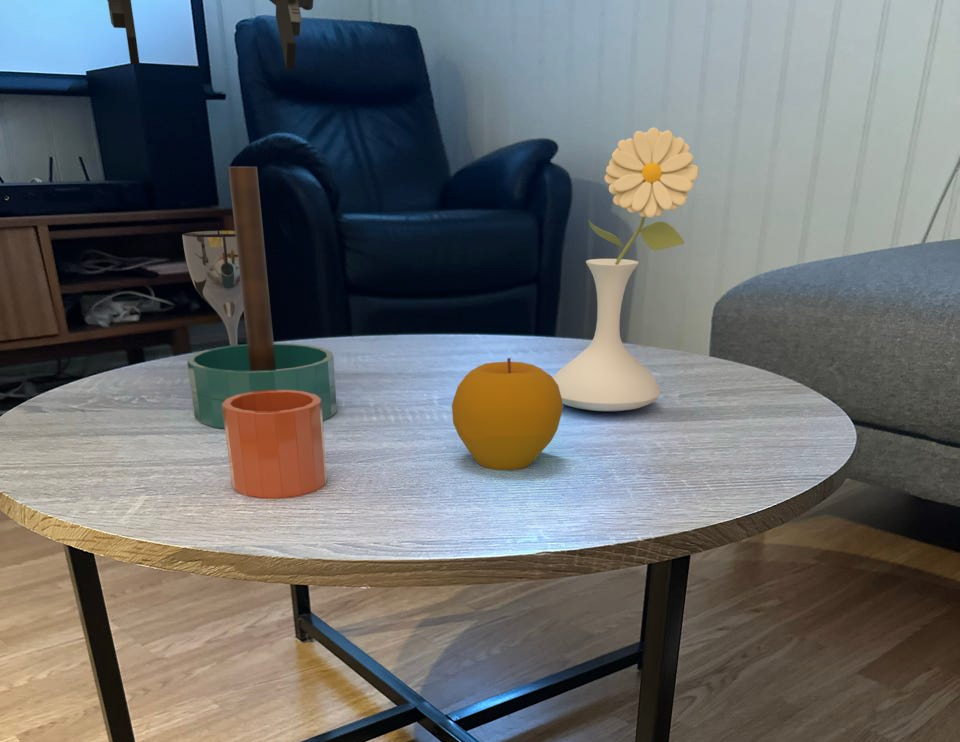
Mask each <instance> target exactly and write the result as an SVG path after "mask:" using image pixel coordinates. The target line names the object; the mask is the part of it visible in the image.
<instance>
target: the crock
mask: <svg viewBox="0 0 960 742" xmlns="http://www.w3.org/2000/svg"><path fill="white" fill-rule="evenodd" d="M222 409H223V417H224V425H225V429H224V433H225V439H226V447H227V449H226V450H227V457H228V464H229V473H230V481H231V487H232V488H233V490H234V491H235V492H236V493H238V494H240V495H242V496H246V497H250V498H255V499H268V500H269V499H270V500H271V499H272V500H274V499H276V500H277V499H289V498H296V497H301V496H302V497H303V496H306V495H308V494H312V493H315V492H317V491H319V490H321V489H322V488H324V487H325V486H326V484H327V480H328V474H327V473H328V472H327V458H326V447H325V445H326V444H325V432H324V421H323V417H322V404H321V398H320V397H318V396H317V395H315V394H312V393H308V392H304V391H294V390H265V391H254V392H248V393H243V394H238V395H235V396H232V397H230V398H227V399H225V401H224V402H223V403H222Z"/></svg>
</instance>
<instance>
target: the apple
mask: <svg viewBox="0 0 960 742" xmlns="http://www.w3.org/2000/svg"><path fill="white" fill-rule="evenodd" d="M506 360H507V361H496V362H495V361H494V362H485V363H483V364H481V365H478V366H477V367H475V368H473V369H471V370H470V371H469V372H468V373H467V374H466V375H465V376H464V377H463V378H462V380H461V381H460V383H459V384H458V386H457V388H456V390H455V394H454V396H453V399H452V403H451V412H452V413H451V415H452V424H453V426H454V428H455V431H456V433H457V436H458V437H459V439H460V440H461V442H462V443H463V445H464V446H465V447H466V449H467V451H468V452H469V454H470V455H471V457H473V459H474V460H475V461H476V462H477V464H478V465H479V466H481V467H483V468H485V469H490V470H496V471H515V470H523V469H526V468H528V467H529V466H531V464H532V463H533V462H534V461H535V460H536V459H537V458H538V457H539V456H540V454H541V453H542V452H543V451H544V450H545V449H546V448H547V447H548V445H549V444H550V443H551V442H552V440H553V439H554V437H555V435H556V433H557V431H558V429H559V426H560V421H561V418H562V414H563V411H564V408H563V405H564V404H563V403H562V398H561V394H560V390H559V386H558V384H557V383H556V382H555V380H554V379H553V376H552V375H551V374H549V373H548V372H546V371H545V370H544V369H542V368H541V367H539V366H537V365H534V364H531V363H528V362H522V361H511V357H507V359H506Z"/></svg>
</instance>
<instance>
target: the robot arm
mask: <svg viewBox="0 0 960 742" xmlns="http://www.w3.org/2000/svg"><path fill="white" fill-rule="evenodd" d="M106 1H107V4H108V12H109V18H110V24H111V25H112V27H113V29H114V28H115V29H125V32H126V41H127V48H128V49H127V50H128V56H129V62H130V65H133V66H134V65H135V66H140V64H141V63H140V57H139V49H138V41H137V34H136V27H135V20H134V14H133V13H134V12H133V6H132V0H106ZM269 2H270V3H272V4H274V6H275V19H276V24H277V30H278V33H279V40H280V44H281V45H280V46H281V50H282V55H283V60H284V63H285V69H286V70H288V71H290V70H291V71H295V70H296V68H295V67H296V50H297V49H296V47H297V46H296V44H297V43H296V38H295V37H300V36H301V33H302V20H303V19H302V14H301V10H300V9H301V8H302V9H303V10H305V11H311V10H313V8H314V0H269Z"/></svg>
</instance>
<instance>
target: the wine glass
mask: <svg viewBox="0 0 960 742" xmlns="http://www.w3.org/2000/svg"><path fill="white" fill-rule="evenodd" d="M181 236H182V245H183V250H184V251H183V252H184V258H185V262H186V266H187V269H188V273H189V276H190V278H191V281H192V284H193V286H194V289H195V290H196V292H197V293H198V294H199V296H200V297H201V298H202V299H203V300H204V301H205V302H206V303H207V304H208V305H209V306H210V308H212V309H213V310H214V311H215V312H216V314H217V315H218V316H219V318H220V319H221V321H222V323H223V325H224V327H225V330H226V334H227V338H228V343H229V346H232V345H238V327H239V323H240V319H241V317H242V314H244V309H243V299H242V290H241V281H240V272H239V262H238V253H237V244H236V235H235V230H203V231H192V232H185V233H182V235H181Z"/></svg>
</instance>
